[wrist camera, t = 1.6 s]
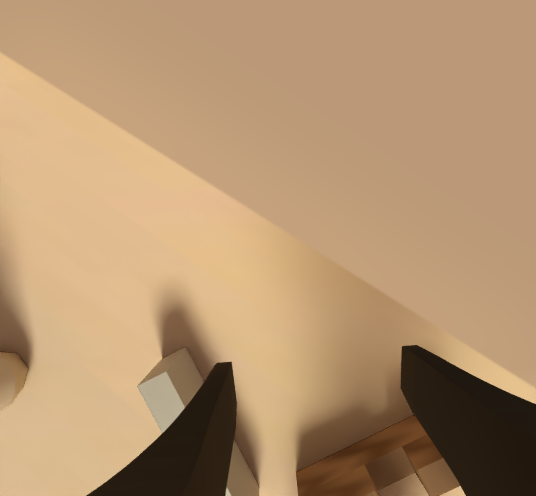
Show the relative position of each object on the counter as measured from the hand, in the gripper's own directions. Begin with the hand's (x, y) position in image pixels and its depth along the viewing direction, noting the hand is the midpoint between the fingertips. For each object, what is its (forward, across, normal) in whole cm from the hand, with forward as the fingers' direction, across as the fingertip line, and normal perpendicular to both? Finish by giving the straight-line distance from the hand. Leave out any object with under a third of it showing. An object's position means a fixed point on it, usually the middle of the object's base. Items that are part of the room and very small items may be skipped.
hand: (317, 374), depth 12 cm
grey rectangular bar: (+12, +8, +14) cm, 20 cm away
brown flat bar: (+11, -6, +17) cm, 21 cm away
